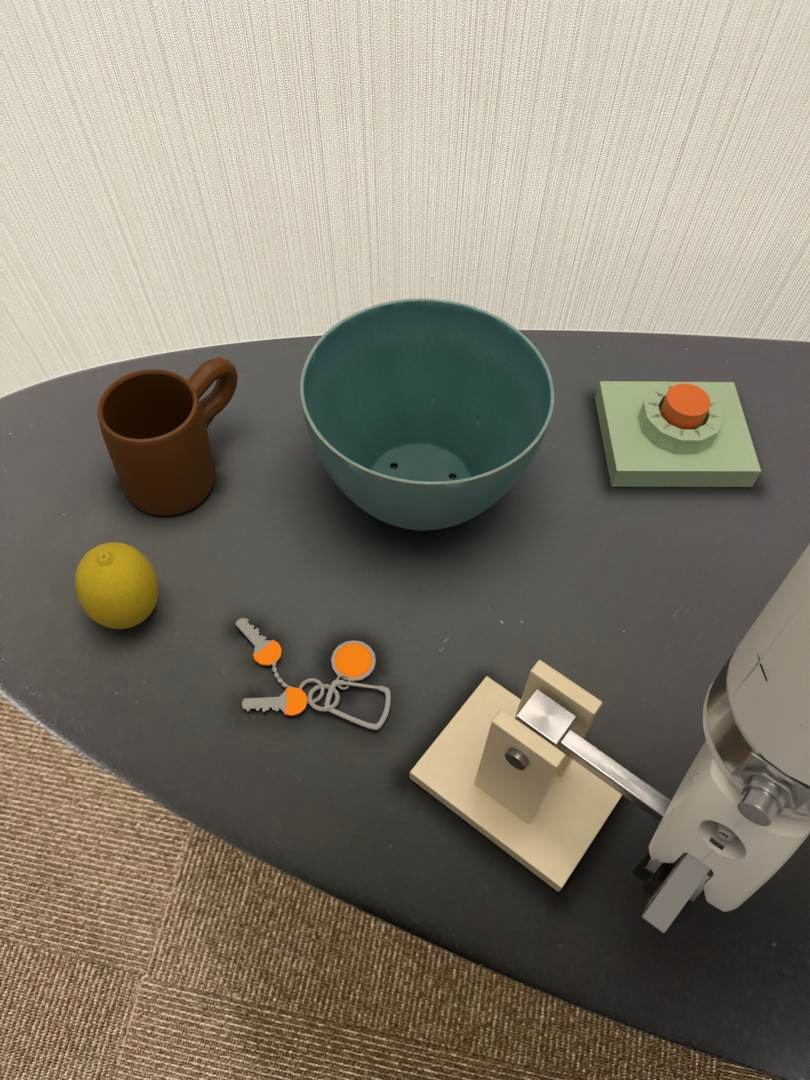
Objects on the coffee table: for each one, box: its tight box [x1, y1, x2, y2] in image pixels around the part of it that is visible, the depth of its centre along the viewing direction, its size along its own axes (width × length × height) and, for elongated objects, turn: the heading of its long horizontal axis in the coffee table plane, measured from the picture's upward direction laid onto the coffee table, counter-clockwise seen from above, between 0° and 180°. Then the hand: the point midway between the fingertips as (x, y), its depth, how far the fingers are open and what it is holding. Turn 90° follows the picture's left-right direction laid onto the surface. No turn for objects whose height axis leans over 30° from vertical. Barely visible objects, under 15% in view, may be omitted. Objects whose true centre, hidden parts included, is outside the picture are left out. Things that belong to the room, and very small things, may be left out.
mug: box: [96, 356, 238, 517], centre depth 72 cm, size 12×8×9 cm, turn 139°
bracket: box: [408, 659, 623, 893], centre depth 57 cm, size 12×9×12 cm
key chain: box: [234, 617, 392, 731], centre depth 65 cm, size 13×7×1 cm, turn 76°
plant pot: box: [299, 297, 555, 531], centre depth 70 cm, size 18×18×12 cm
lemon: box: [74, 541, 160, 630], centre depth 64 cm, size 6×6×8 cm
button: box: [661, 383, 711, 429], centre depth 75 cm, size 4×4×2 cm
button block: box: [594, 380, 762, 488], centre depth 77 cm, size 12×10×4 cm
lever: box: [515, 689, 680, 860], centre depth 52 cm, size 12×5×2 cm, turn 52°
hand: (683, 844), depth 52 cm, fingers closed on lever, 5 cm apart
